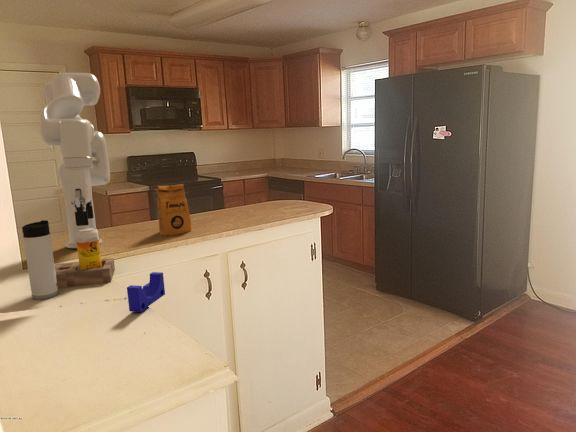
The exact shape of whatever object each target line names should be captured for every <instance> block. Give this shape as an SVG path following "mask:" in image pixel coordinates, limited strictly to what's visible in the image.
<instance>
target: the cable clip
mask: <svg viewBox="0 0 576 432" xmlns="http://www.w3.org/2000/svg"><path fill="white" fill-rule="evenodd" d="M126 291H127V292H126V294H127V299H128V300H127V303H128V310H129V312H133V313H134V312H137V313H141V312H143V311H144V310H145V309H147V308H148V307H150V306H151V305H152V304H154V303H155V302H156V301H158V300H159V299H161V298H162V297H164V296H165V295H166V290H165V279H164V272H160V271H159V272H158V271H157V272H156V271H152V272H150V273H149V281H148V283H146V284H144V285H143V286H142V285H132V284H131V285H128V286H126Z"/></svg>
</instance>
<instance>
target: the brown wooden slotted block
mask: <svg viewBox="0 0 576 432" xmlns="http://www.w3.org/2000/svg"><path fill="white" fill-rule="evenodd" d="M101 261H102V268H93V269H84V270H80V265H79V261H72V262H64V263H56V264H55V263H54V265H55V272H56V279H57V286H58V287H57V288H58V289H61V288H70V287H71V288H72V287H79V286H88V285H95V284H105V283H106V284H107V283H111V282H112V280H113V277H114V273H115V271H116V270H115V269H116V268H115V267H116V265H115V259H114V257H111V258H101Z"/></svg>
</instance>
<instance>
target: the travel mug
mask: <svg viewBox="0 0 576 432" xmlns="http://www.w3.org/2000/svg"><path fill="white" fill-rule="evenodd" d="M21 231H22V239H23V245H24V252H25V258H26V265H27V270H28V272H27V273H28V278H29V286H30V291H31V298H32V299H33V300H37V301H38V300H40V301H41V300H47V299H52V298H54V297H57V296H58V294H59V288H57V287H58V286H57V279H56V272H55V260H54V251H53V245H52V237H51V232H50V223H49V220H44V219H42V220H40V221H35V222H31V223H28V224H26V225H24V226H22V227H21Z"/></svg>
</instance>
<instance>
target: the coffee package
mask: <svg viewBox="0 0 576 432" xmlns="http://www.w3.org/2000/svg"><path fill="white" fill-rule="evenodd" d="M185 192H186V191H185V187H184V183H182V184H180V183H179V184H174V185H173V184H171V185H157V186H156V194H157V195H156V196H157V211H158V228H159V229H158V230H159V235H161V234H162V235H161V236H163V235H164V237H167V236H166V235H169V236H175V235H181V234H185V233H189V232H192V231H193V230H192V219H191V214H190V210H189V204H188V200H187V197H186V193H185Z"/></svg>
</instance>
